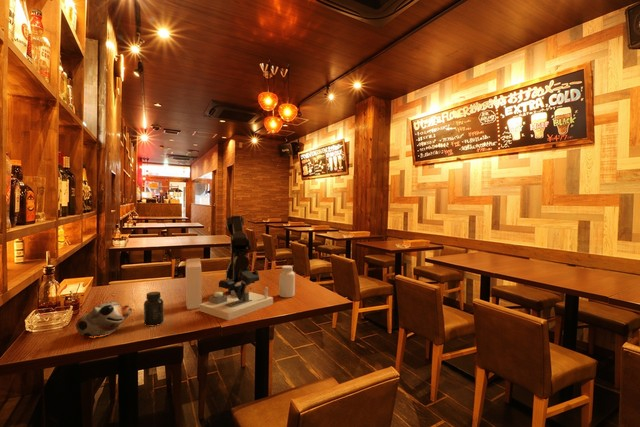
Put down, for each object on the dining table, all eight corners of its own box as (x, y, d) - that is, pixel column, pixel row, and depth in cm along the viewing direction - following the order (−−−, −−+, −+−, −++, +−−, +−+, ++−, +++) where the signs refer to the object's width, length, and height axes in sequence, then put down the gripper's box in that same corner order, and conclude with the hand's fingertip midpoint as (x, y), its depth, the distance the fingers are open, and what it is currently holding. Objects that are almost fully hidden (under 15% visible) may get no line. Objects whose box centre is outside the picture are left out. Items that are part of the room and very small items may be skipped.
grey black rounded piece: (114, 322, 129) (130, 292, 128) (123, 342, 122) (140, 310, 121) (70, 322, 117) (87, 289, 116) (77, 344, 110) (95, 309, 109)
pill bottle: (292, 298, 161) (292, 268, 161) (276, 297, 163) (277, 267, 162) (296, 293, 169) (296, 265, 169) (281, 292, 171) (282, 264, 170)
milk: (201, 307, 147) (201, 259, 146) (187, 309, 144) (187, 260, 143) (199, 303, 152) (199, 257, 151) (185, 305, 149) (185, 258, 148)
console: (200, 311, 142) (199, 292, 142) (245, 296, 164) (245, 280, 163) (228, 320, 131) (228, 300, 131) (273, 303, 153) (273, 286, 152)
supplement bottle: (141, 323, 128) (141, 293, 128) (160, 318, 133) (159, 289, 133) (147, 328, 123) (146, 296, 123) (166, 323, 128) (165, 293, 128)
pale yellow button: (212, 297, 145) (212, 293, 145) (219, 295, 148) (219, 291, 148) (217, 298, 143) (217, 294, 143) (224, 296, 146) (224, 292, 146)
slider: (241, 300, 147) (241, 290, 147) (245, 299, 149) (245, 289, 149) (245, 301, 145) (245, 291, 145) (249, 300, 147) (249, 290, 147)
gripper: (235, 270, 132) (235, 309, 132) (267, 263, 147) (267, 297, 148) (217, 267, 138) (217, 303, 139) (250, 260, 153) (250, 293, 154)
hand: (239, 299), depth 145 cm, fingers closed
